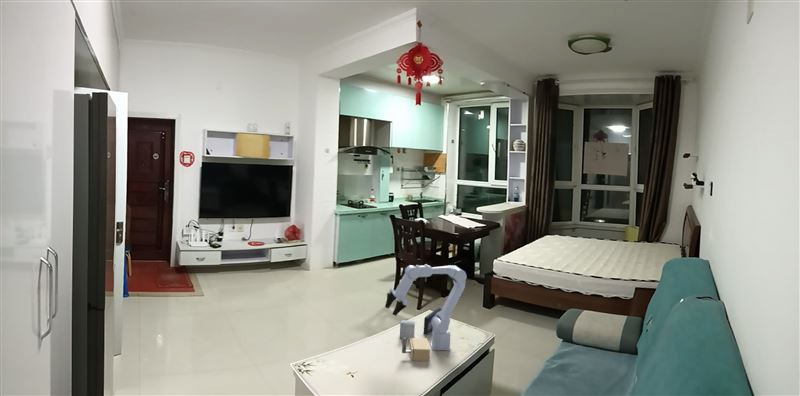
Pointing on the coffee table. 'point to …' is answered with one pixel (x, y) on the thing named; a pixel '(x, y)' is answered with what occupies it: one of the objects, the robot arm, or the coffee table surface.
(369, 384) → the coffee table surface
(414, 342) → the carton
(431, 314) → the vhs cassette tape
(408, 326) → the medicine box
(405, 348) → the wooden box lid
